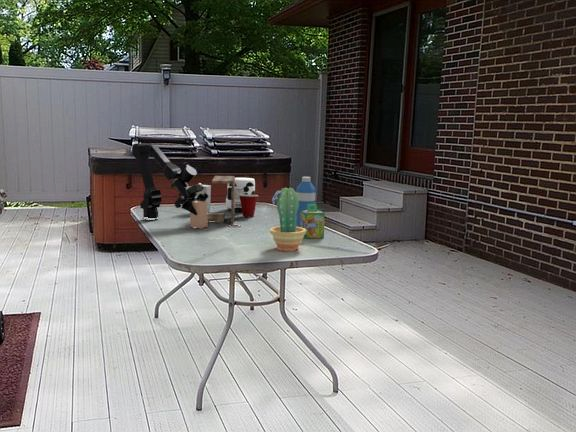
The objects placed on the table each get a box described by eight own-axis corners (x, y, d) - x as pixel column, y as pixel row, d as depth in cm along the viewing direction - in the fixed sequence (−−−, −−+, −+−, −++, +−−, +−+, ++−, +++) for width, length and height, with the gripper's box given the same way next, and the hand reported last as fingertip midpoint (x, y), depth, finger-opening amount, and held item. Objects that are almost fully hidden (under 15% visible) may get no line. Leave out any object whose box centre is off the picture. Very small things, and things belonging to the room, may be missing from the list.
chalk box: (305, 238, 261) (305, 206, 258) (299, 234, 270) (299, 202, 267) (324, 238, 263) (325, 205, 261) (318, 234, 272) (319, 202, 270)
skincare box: (192, 213, 321) (191, 185, 318) (197, 211, 327) (197, 184, 324) (206, 214, 318) (205, 186, 316) (211, 212, 324) (211, 184, 322)
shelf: (203, 224, 290) (203, 180, 286) (207, 216, 313) (207, 175, 310) (233, 224, 291) (233, 181, 287) (234, 216, 314) (234, 176, 311)
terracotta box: (190, 227, 281) (189, 201, 279) (198, 225, 285) (197, 200, 283) (199, 229, 278) (199, 202, 275) (207, 227, 282) (207, 201, 280)
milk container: (246, 207, 347) (246, 176, 344) (261, 211, 333) (262, 179, 330) (220, 209, 337) (220, 178, 334) (235, 213, 323) (235, 181, 320)
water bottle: (313, 230, 280) (314, 178, 275) (293, 229, 281) (294, 177, 277) (316, 227, 289) (317, 176, 284) (297, 226, 290) (298, 175, 286)
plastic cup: (259, 215, 320) (260, 193, 318) (256, 218, 310) (257, 195, 308) (240, 214, 321) (240, 192, 319) (236, 217, 311) (236, 195, 309)
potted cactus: (285, 242, 252) (286, 184, 248) (313, 248, 243) (315, 188, 238) (261, 248, 240) (261, 187, 236) (290, 254, 231) (291, 191, 227)
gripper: (178, 179, 272) (196, 205, 268) (205, 176, 287) (222, 201, 283) (166, 194, 278) (183, 220, 274) (193, 191, 293) (210, 215, 289)
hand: (200, 213), depth 280 cm, fingers closed on terracotta box, 5 cm apart
